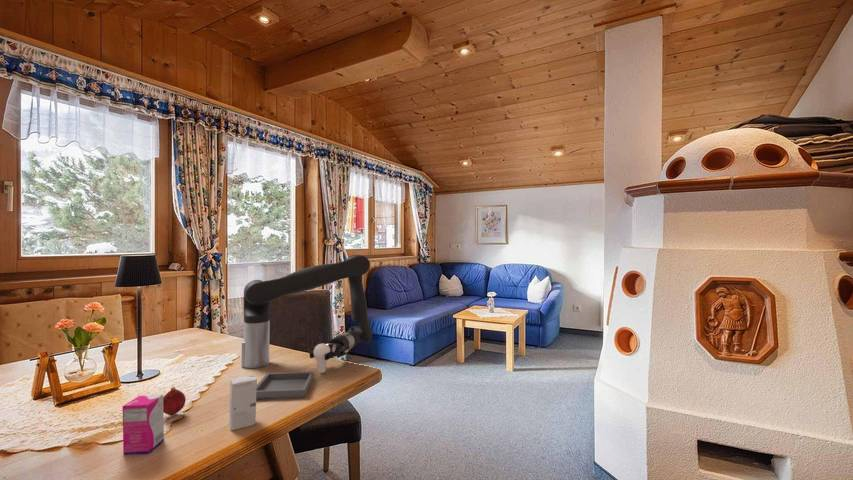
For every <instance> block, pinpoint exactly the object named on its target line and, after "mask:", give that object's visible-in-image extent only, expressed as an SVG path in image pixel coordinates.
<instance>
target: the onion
mask: <svg viewBox="0 0 853 480" xmlns="http://www.w3.org/2000/svg"><path fill="white" fill-rule="evenodd" d="M185 405H186V395H185V394H184V393H183V392H182V391H181V390H179V389H177V388H176V387H175V386H171V388H170V390H169V391H168V392H167V393H165V394H164V395H163V414H164V415H168V416H171V417H174V416H176V414H178V413H179V412H180V411H181V410H182V409H183V408H184V406H185ZM173 415H174V416H173Z"/></svg>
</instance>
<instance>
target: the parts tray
mask: <svg viewBox="0 0 853 480" xmlns="http://www.w3.org/2000/svg"><path fill="white" fill-rule="evenodd" d="M314 375H315V372H314V371H293V372H292V371H291V372H289V371H288V372H267V373H265V375H264V376H263V378H261V380H260V381H259V382H257V389H256V401H262V400H286V399H305V398H306V396H307V393H308V392H309V390H310V387H311V385H312V383H313V381H314V379H315V376H314Z"/></svg>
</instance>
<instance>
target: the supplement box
mask: <svg viewBox="0 0 853 480" xmlns="http://www.w3.org/2000/svg"><path fill="white" fill-rule="evenodd" d="M163 397H164V394H148V395H147V394H146V395H144V394H143V395H138V396H137V397H135V398H133V399H132V400H130V401H129V402H127V403H126V404H124V405H122V445H123V446H122V447H123V448H122V452H123V453H122V454H123V455H125V456H126V455H127V456H128V455H149V454H150V453H151V452H153V451H154V450H155V449H156V448H158V446H159V445H160V444H162V443H163V442H164V441H165V432H164V431H165V430H164V429H165V426H164V425H165V424H164V421H165V419H164V415H165V413H164V412H163Z"/></svg>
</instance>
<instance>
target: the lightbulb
mask: <svg viewBox="0 0 853 480" xmlns="http://www.w3.org/2000/svg"><path fill="white" fill-rule="evenodd" d="M327 344H328V343H318V345H317V344H316V345H317V346H316V347H315V348H314V351H313V354H314V359H315V361H316V363H317V372H318V373H320V374H324V373H325V372H326V368H327V367H326V366H327V362H328V360H325V354H326V353H329V352H330V348H329V346H328V345H327Z"/></svg>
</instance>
